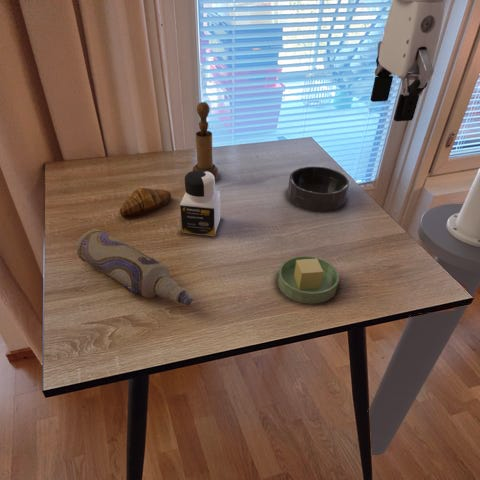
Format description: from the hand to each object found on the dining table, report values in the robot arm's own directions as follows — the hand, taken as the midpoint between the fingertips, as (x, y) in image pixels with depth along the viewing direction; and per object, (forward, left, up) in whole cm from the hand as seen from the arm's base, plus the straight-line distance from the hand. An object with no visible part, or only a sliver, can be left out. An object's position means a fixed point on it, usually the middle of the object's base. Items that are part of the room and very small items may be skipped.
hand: (390, 110), depth 73 cm
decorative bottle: (+48, +11, -26) cm, 56 cm away
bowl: (+4, -17, -26) cm, 31 cm away
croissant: (+45, -16, -26) cm, 55 cm away
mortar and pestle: (+30, -30, -26) cm, 50 cm away
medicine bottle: (+33, -7, -26) cm, 43 cm away
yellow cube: (+16, +15, -25) cm, 33 cm away
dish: (+15, +15, -26) cm, 33 cm away
